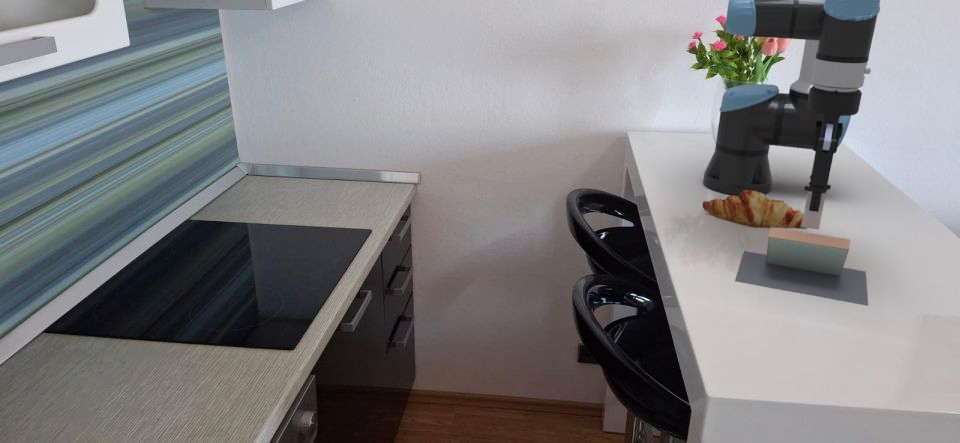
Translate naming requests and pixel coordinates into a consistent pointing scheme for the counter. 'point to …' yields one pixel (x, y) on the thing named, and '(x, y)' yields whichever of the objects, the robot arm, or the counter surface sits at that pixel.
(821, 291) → the mat
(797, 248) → the block
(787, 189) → the counter surface
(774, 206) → the croissant
